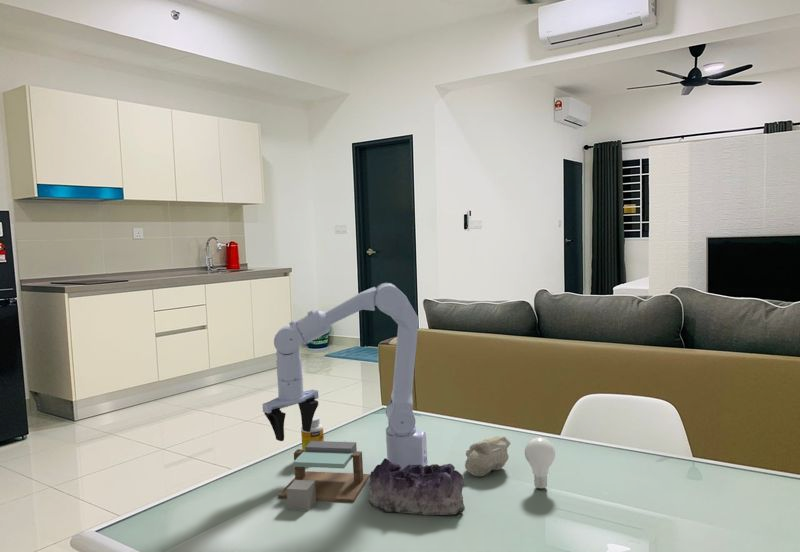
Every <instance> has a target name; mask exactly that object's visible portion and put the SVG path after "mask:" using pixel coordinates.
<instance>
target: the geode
mask: <svg viewBox="0 0 800 552" xmlns="http://www.w3.org/2000/svg"><path fill="white" fill-rule="evenodd" d="M455 468H456V467H455V466H454V464H452V463H447V464H442V465H439V464H436V463H435V464H431V465H426V466H422V465H421V464H420V465H412V466H411V465H408V466H406V467H405V468H404V469H402V468H401V466H400V465H399V464H398V463H391V462H390V461H389V460H387V457H386V458H384V459H383V460H382V461H381V462H380V464H377V465H376V466H375V467H374V469H373V470H372V471H371V472H370V473H369V474H370V477H369V489H368V490H369V491H368V494H369V500H368V503H369V506H371V507H372V508H374V509H377V510H378V511H381V512H383V513H405V514H414V515H421V514H423V515H424V516H429V515H432V516H436V515H438V516H446V515H447V516H448V515H457V514H463V512H464V511H465V507H466V506H465V505H464V495H463V489H464V488H465V486H466V483H465V479H464V476H463V474H462V473H460V472H459V471H458V470H456V469H455Z"/></svg>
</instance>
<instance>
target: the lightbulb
mask: <svg viewBox="0 0 800 552" xmlns="http://www.w3.org/2000/svg"><path fill="white" fill-rule="evenodd" d="M524 456H525V457H524V458H525V459H526V461H527V462H528V464H529V466H530V467H531V470H532V474H533V477H534V487H535V488H538V489H539V490H544V489H545V488H547V487H548V474H549V471H550V467H551V466H552V464H553V463H554V461H555V458H556V450H555V447H554V445H553V444H552V442H551V441H549V439H547V438H544V437H540V436H538V437H534V438H532V439H530V440H529V441H528V442H527V443H526V445H525V447H524Z"/></svg>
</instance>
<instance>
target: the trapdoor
mask: <svg viewBox="0 0 800 552" xmlns="http://www.w3.org/2000/svg"><path fill="white" fill-rule="evenodd" d="M357 449H358V448H357V442H356V441H355V442H354V441H331V440H330V441H328V440H327V441H326V440H324V441H311V442H310V443H309V444H308V445H307V446H306V447H305V450H306V452H303V453H302V454H301V455H300V456H299V457H298V458H297V459H296V460H295V461H294V460H293V462H292V463H293V466H292V467H294V466H296V467H305V468H318V469H319V468H322V469H323V468H326V469H342V470H344V469H345V468H346V467H347V465H348V464H349V462H351V460H353V454H354V453H355V451H358V450H357Z"/></svg>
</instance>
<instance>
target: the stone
mask: <svg viewBox="0 0 800 552" xmlns="http://www.w3.org/2000/svg"><path fill="white" fill-rule="evenodd" d="M286 500H287V510H289V511H305V512H309V511H310V510H311V508H312V507H313V506H314V504H315V503H316V502H317V500H316V489H315V481H311V480H294V482H293V483H292V484H291V485H290V486H289V487H288V488H287V498H286Z"/></svg>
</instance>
